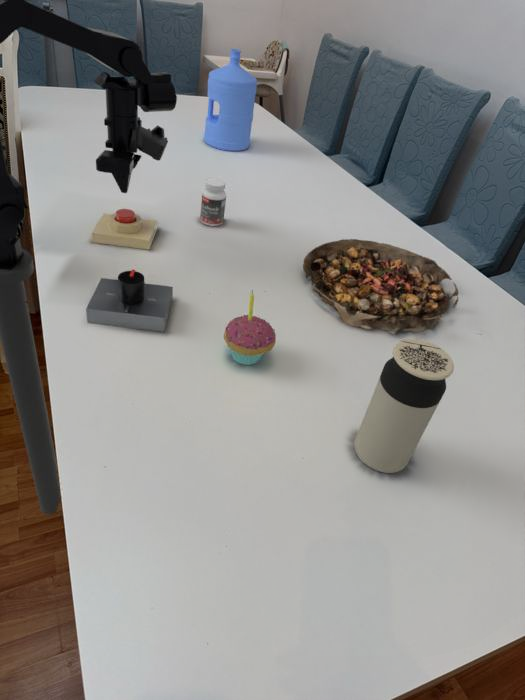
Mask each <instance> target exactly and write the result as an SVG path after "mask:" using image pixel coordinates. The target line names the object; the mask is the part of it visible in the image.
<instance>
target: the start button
mask: <svg viewBox="0 0 525 700" xmlns="http://www.w3.org/2000/svg"><path fill="white" fill-rule="evenodd" d="M115 213H116V221H117V222H119V223H125V224H128V223H133V222H135V214H136V212H135V211H134V210H132V209H128V208H121V209H117V210H116V211H115Z"/></svg>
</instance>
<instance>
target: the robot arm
mask: <svg viewBox="0 0 525 700" xmlns="http://www.w3.org/2000/svg"><path fill="white" fill-rule="evenodd" d="M21 28H22V29H25V30H28V31H30V32H33V33H34V34H35V33H36V34H37V35H40V36H42V37H46V38H48V39H50V40H52V41H55V42H58V43H60V44H63V45H65V46H68V47H69V48H73V49H75V50H77V51H80V52H82V53H85V54H86V55H88V57H91V58H92V59H93V60H96V61H97V62H98V63H100V64H102V65H103V66H105V67H106V68H108V69H110V70H112V71H114V72H115V73H117V74H119V75H111V74H110V73H108V72H106V71H104V70H101V72H100V74H99V75H98V76H96V78H95V79H93V81H92V82H93V84H94V85H95V86H97V87H99V88H101V89H102V90H105V105H106V106H105V107H106V108H105V109H106V116H105V118H104V119H103V123H104V126H107V127H106V129H107V139H106V141H105V142H104V143H105V144H104V145H105V150H103V151H102V152H101V153H100V154H99V155H98V156H97V158H96V159H95V168H96V171H97V172H102V173H108V174H111V175H112V177H113V178H114V181H115V183H116V184H117V186H118V189H119V190H120V192H121V193H122V194H127V193H128V191H129V187H130V183H131V179H132V172H133V171H134V169H135V168H137V165H138V163H139V162H140V160H141V159H142V155H141V154H138V151H140V152H142V153H144V154H145V155H147V156H149V157H151V158H152V159H153V160H155V161H161V159H162V157H163V155H164V153H165V150H166V148H167V146H168V143H169V140H168V137H166V136H165V128H163V127H161V126H160V125H156V126H155V127H154V128H152V129H150V128H145V127H143V125H142V119H141V117H139V111H138V110H139V107H140V110H142V111H143V112H144V113H159V112H172V111H174V110H175V108H176V106H177V101H178V96H177V94H176V89H175V85H174V84H173V82H172V74H170V73H168V72H166V71H159V72H151V71H150V70H149V68H148V67H147V65H146V63H145V62H144V60H143V52H142V50H141V47H140V45H139V44H138V43H137V42H135V41H133V40H131V39H129V38H127V37H125V36H123V35H120V34H118V33H115V32H111V31H107V30H103V29H98V28H92V27H87V26H83V25H81V24H80V23H77V22H75V21H72V20H70V19H68V18H66V17H64V16H61V15H58V14H56V13H54V12H52V11H50V10H47V9H45V8H43V7H41V6H39V5H36V4H34V3H32V2H30V1H27V0H0V45H1V44H2V43H4V42H5V41H6V40H7V39H8V38H9V37H10V36H11V35H12V34H13V33H14V32H15V31H17V30H18V29H21ZM128 78H132V79H133V80H128ZM108 149H112V150H108ZM5 157H6V156H5V153H4V148H3V144H2V140H1V137H0V269H6V270H12V269H13V268H14V267H15V265H16V264H17V263H18V262H19V260H20V259H21V258H22V257H23V255H24V252H22V249H23V248H22V243H21V239H20V237H19V236H18V231H19V226H20V224H21V223H22V221H23V220H24V219H25V217H26V210H28V209H29V206H28V205H27V203H26V200H25V188H24V186H23V184H21V182H20V181H18V180H17V179H16V178H15V177H14V176H13V175H12V174H9V172H8V167H7V163H6V162H7V161H6V158H5ZM21 248H22V249H21Z"/></svg>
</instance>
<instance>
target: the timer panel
mask: <svg viewBox="0 0 525 700" xmlns="http://www.w3.org/2000/svg"><path fill="white" fill-rule="evenodd" d="M144 292H145V297H144V300H143V301H142V302H140V303H136V304H127V303H124V302H122V301H121V300H120V299H119V294H118V279H113V278H106V277H101V278H100V279H99V282H98V284H97V285H96V287H95V290H94V291H93V294H92V296H91V298H90V299H89V301H88V304H87V306H86V308H85V311H86V322H87V324H91V325H92V324H93V325H100V326H109V327H117V328H118V327H119V328H125V329H126V328H127V329H136V330H144V331H151V332H159V333H160V332H161V333H164V332H165V330H166V326H167V322H168V318H169V316H170V315H169V314H170V311H171V307H172V304H173V295H174V294H173V293H174V287H173V286H170V285H161V284H154V283H146V282H144Z"/></svg>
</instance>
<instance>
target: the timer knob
mask: <svg viewBox="0 0 525 700" xmlns="http://www.w3.org/2000/svg"><path fill="white" fill-rule="evenodd" d="M117 280H118V294H119V299H120V300H121V301H122V302H124V303H127V304H136V303H140V302H142V301H143V300H144V297H145V292H144V283H145V275H144V274H143V273H141V272H139V271H136V269H133V268H132V269H131V270H125V271H122V272H121V273H119V274H118V275H117Z"/></svg>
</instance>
